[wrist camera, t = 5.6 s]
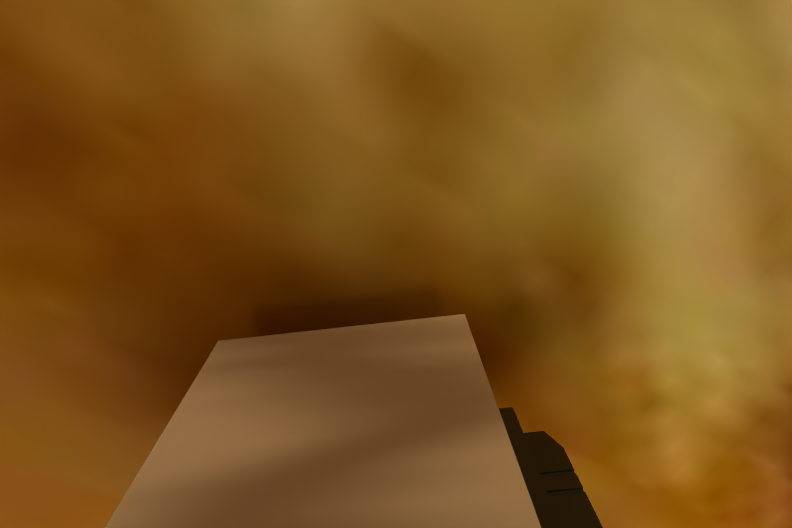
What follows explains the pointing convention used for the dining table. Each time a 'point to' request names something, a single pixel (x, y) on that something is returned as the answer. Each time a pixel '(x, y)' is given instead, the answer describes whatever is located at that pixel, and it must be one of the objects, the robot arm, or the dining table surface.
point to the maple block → (336, 436)
